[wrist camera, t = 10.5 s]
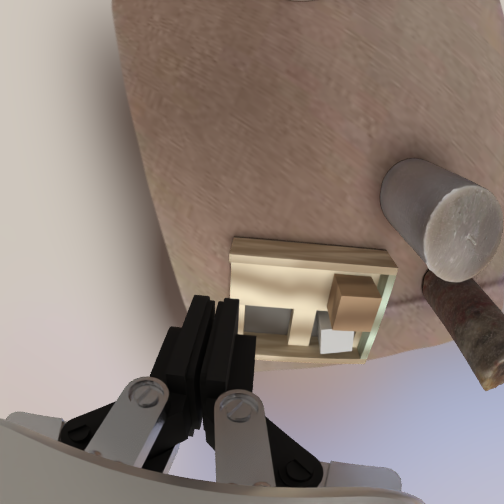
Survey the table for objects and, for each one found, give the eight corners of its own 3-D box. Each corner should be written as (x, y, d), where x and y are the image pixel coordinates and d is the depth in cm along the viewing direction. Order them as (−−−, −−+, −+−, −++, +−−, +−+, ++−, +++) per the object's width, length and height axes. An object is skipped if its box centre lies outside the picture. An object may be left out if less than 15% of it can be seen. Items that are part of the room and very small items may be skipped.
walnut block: (334, 273, 38) (341, 295, 34) (371, 276, 38) (382, 298, 34) (326, 306, 40) (332, 330, 36) (361, 308, 40) (370, 331, 36)
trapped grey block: (317, 309, 43) (321, 329, 39) (348, 306, 43) (354, 326, 39) (317, 333, 45) (320, 354, 41) (346, 330, 45) (351, 350, 41)
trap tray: (234, 236, 40) (229, 254, 35) (385, 250, 39) (398, 268, 35) (230, 334, 47) (226, 356, 42) (358, 341, 46) (364, 363, 42)
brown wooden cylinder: (469, 264, 39) (542, 348, 21) (448, 303, 42) (506, 395, 24) (433, 253, 39) (508, 346, 21) (413, 296, 42) (468, 398, 24)
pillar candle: (454, 197, 35) (522, 241, 21) (406, 244, 38) (457, 308, 25) (415, 141, 33) (486, 164, 19) (362, 193, 36) (409, 243, 23)
